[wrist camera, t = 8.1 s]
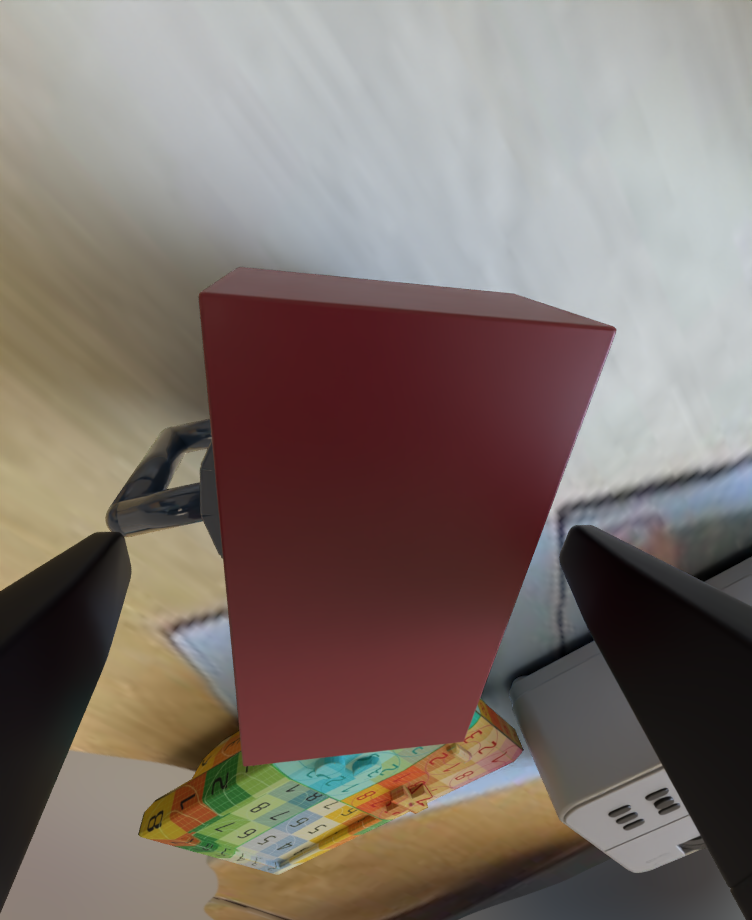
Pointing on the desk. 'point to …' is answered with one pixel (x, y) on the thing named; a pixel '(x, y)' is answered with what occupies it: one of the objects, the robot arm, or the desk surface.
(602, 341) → the red rectangular block
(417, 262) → the desk surface
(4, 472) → the desk surface
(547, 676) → the projector
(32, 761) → the robot arm
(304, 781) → the puzzle game
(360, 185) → the desk surface
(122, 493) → the mug
